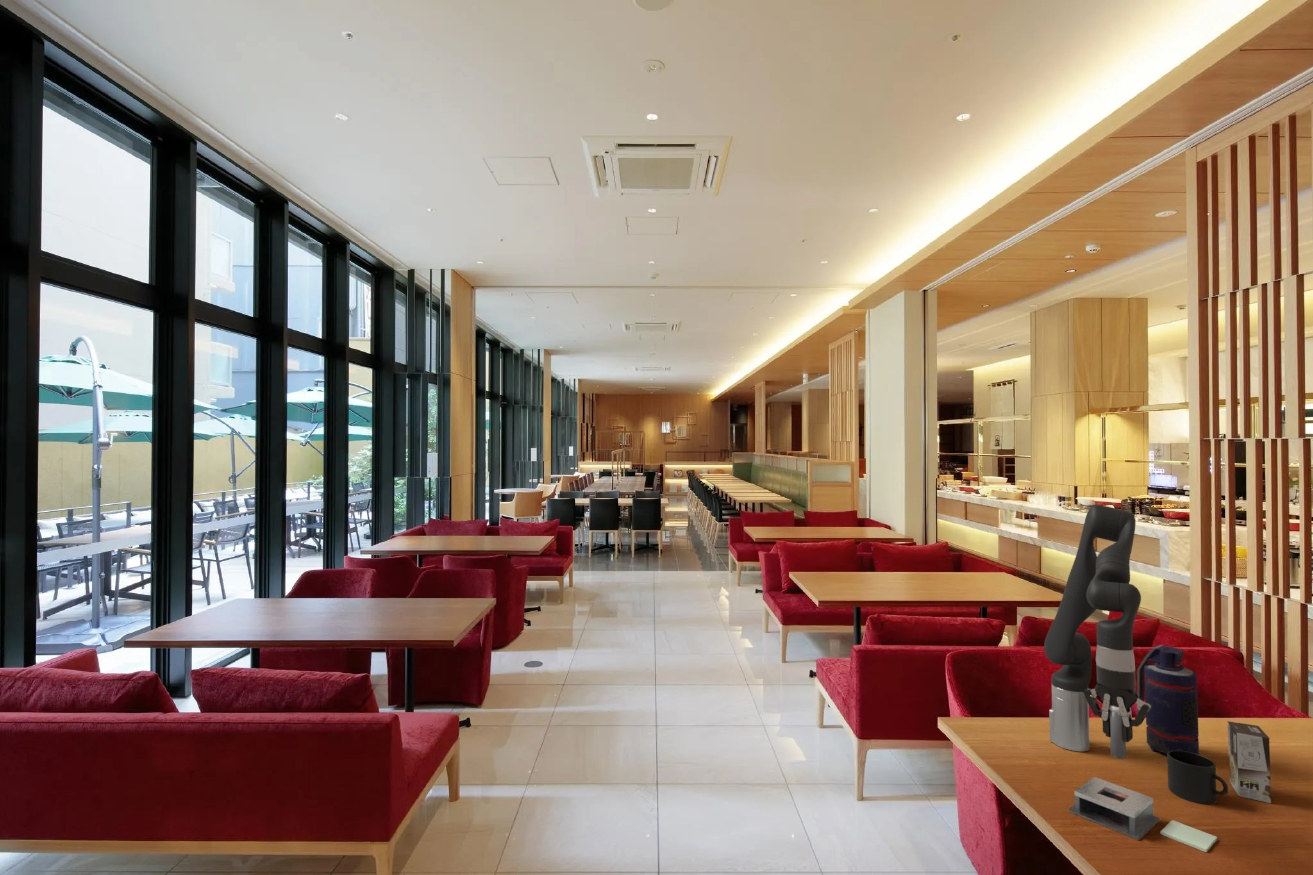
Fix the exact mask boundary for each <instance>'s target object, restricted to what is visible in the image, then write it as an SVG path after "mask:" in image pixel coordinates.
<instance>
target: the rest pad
mask: <svg viewBox="0 0 1313 875" xmlns="http://www.w3.org/2000/svg"><path fill="white" fill-rule="evenodd" d="M1160 835H1161V836H1164V837H1166V838H1169V839H1171V840H1174V841H1176V842H1179V843H1181V844H1185V845H1186V846H1188V847H1192V848H1195V849H1197V850H1199V851H1202V852H1204V853H1207V852H1208V851H1209V850H1210V849H1211V847H1213V845H1215V843H1216V842H1217V841H1218V837H1217V836H1216V835H1213V834H1210V833H1207V832H1206V831H1205V832H1204V831H1202V830H1200V829H1196V828H1194V827H1191V826H1189V825H1186V824H1184V823H1181V822H1178V821H1176V820H1170V822H1169V823H1168V824H1166V825H1165V826H1164V828H1162V830H1160Z"/></svg>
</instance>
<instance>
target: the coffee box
mask: <svg viewBox="0 0 1313 875" xmlns="http://www.w3.org/2000/svg"><path fill="white" fill-rule="evenodd" d="M1227 739H1228V740H1227V744H1228V745H1227V747H1228V764H1229V766H1228V767H1229V769H1228V770H1229V783H1230V785H1231V786H1232V788H1233V789H1234V791H1235V792H1236V794H1237V795H1238V797H1240V798H1244V799H1250V800H1253V801H1259V802H1263V803H1267V804H1271V803H1272V785H1271V780H1272V779H1271V752H1270V749H1271V748H1270V747H1271V746H1270V737H1269V736H1268V734H1266V732H1264V730H1263V729H1262V728H1261V727H1260V726H1259V725H1255V724H1251V723H1250V724H1249V723H1242V722H1235V721H1234V722H1233V721H1229V720H1227Z"/></svg>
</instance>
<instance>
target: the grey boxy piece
mask: <svg viewBox="0 0 1313 875" xmlns="http://www.w3.org/2000/svg"><path fill="white" fill-rule="evenodd" d="M1112 798H1113V799H1112ZM1114 799H1117V800H1119V801H1117V800H1114ZM1120 801H1121V802H1120ZM1068 813H1071V814H1073V815H1076V816H1079V817H1081V818H1083V819H1086V820H1089V821H1090V822H1093V823H1095V824H1098V825H1101V826H1102V827H1105V828H1107V829H1110V830H1112V831H1115V832H1117V833H1120V834H1121V835H1124V836H1127V837H1130V838H1132V839H1135V840H1137V841H1140V840H1141V839H1142V838H1143V837H1144V836H1145V835H1146V834H1147V833H1148V832H1149V831H1150V830H1151V829H1152V828H1154V827H1155V826H1156V825H1157V824H1158V823H1159V822H1160V821H1161V817H1159V816H1156V815H1154V798H1153V797H1151V796H1149V795H1146V794H1143V793H1140V792H1138V791H1134V790H1133V789H1130V788H1126V787H1123V786H1121V785H1119V784H1115V783H1112V782H1109V781H1107V780H1104V779H1102V778H1099V777H1096V776H1094V777H1092V778H1091V779H1090V780H1088V781H1087V782H1085V783H1083V785H1081V786H1079V787H1078V788H1077V789H1075V790H1074V805H1072V806H1071V807H1070V808H1069V809H1068Z"/></svg>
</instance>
